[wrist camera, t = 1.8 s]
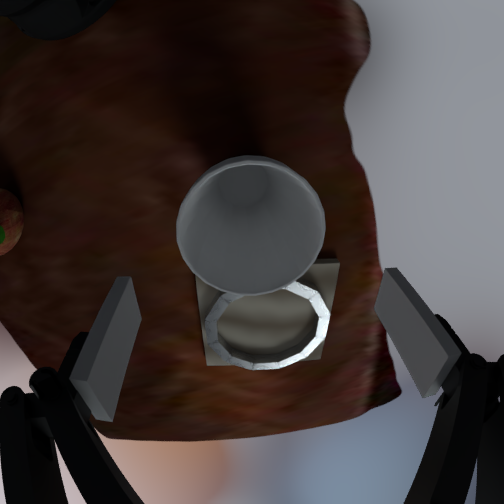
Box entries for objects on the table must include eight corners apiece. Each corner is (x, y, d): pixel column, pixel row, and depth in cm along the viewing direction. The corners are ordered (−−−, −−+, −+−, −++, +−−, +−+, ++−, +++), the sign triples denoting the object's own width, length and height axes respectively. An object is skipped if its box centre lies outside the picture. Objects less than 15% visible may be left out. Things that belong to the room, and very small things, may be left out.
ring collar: (201, 273, 36) (200, 281, 35) (333, 268, 37) (337, 276, 36) (211, 362, 44) (211, 371, 43) (316, 356, 45) (318, 364, 44)
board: (195, 262, 37) (194, 268, 36) (337, 258, 38) (339, 263, 37) (207, 359, 46) (207, 365, 45) (318, 353, 47) (320, 358, 46)
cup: (215, 237, 36) (210, 311, 24) (181, 155, 31) (150, 192, 19) (301, 209, 35) (337, 272, 23) (274, 122, 30) (305, 138, 18)
